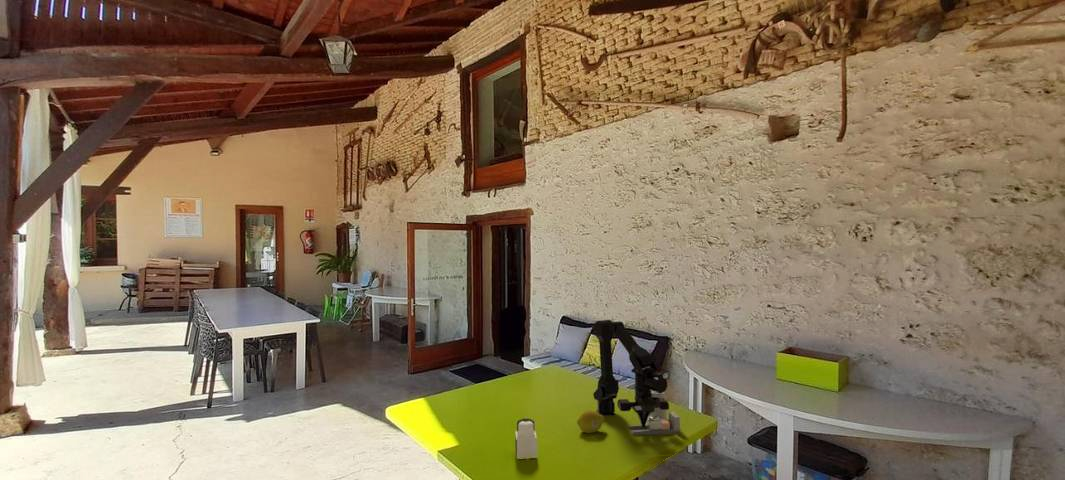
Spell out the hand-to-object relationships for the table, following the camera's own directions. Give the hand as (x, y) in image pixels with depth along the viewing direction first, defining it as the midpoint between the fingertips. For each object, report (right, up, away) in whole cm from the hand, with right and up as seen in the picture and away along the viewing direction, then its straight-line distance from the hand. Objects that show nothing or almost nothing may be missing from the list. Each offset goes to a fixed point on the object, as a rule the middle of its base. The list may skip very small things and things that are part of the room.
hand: (643, 426), depth 182 cm
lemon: (-20, -3, +1) cm, 20 cm away
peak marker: (+8, -2, +1) cm, 8 cm away
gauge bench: (+4, -2, 0) cm, 5 cm away
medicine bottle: (-45, -3, -18) cm, 48 cm away
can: (+9, -2, +12) cm, 15 cm away
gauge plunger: (+4, -2, 0) cm, 5 cm away
